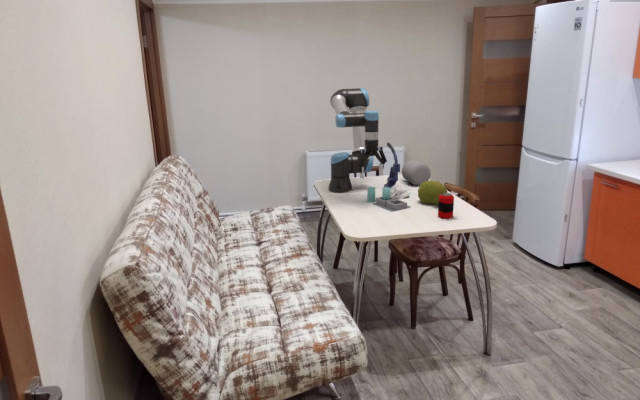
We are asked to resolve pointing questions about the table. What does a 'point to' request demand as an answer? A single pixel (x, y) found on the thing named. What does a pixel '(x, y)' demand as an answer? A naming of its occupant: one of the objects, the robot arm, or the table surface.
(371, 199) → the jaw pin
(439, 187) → the fruit
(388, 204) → the housing
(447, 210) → the soda can
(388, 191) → the jaw pin
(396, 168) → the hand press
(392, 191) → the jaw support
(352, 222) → the table surface
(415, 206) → the table surface
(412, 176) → the grey rounded lump
